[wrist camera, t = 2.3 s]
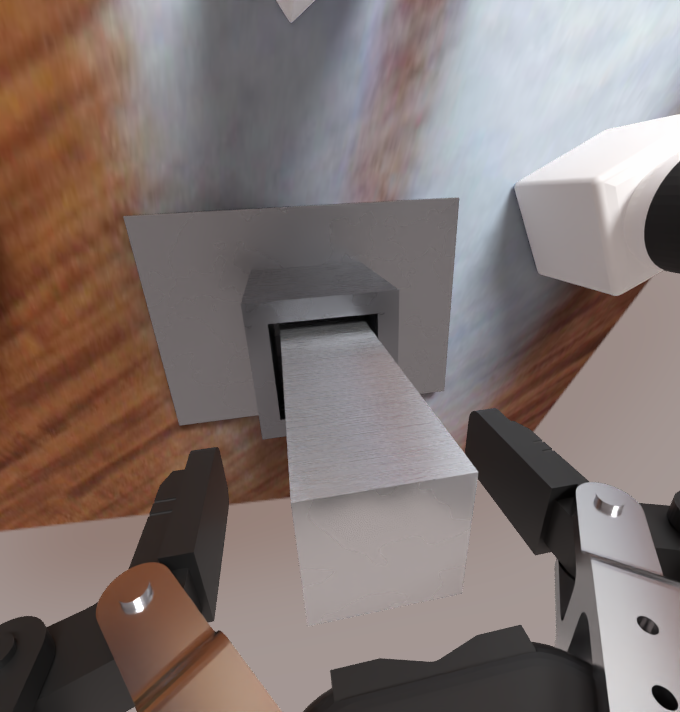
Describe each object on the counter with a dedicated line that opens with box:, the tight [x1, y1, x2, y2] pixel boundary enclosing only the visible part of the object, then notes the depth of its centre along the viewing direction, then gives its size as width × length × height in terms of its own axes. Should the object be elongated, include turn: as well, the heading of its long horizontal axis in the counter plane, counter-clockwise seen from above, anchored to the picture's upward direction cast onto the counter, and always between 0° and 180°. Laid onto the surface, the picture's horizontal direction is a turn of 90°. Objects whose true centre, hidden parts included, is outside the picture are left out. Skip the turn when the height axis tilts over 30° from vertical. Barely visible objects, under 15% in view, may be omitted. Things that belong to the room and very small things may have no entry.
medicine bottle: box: [514, 114, 680, 296], centre depth 20 cm, size 7×7×12 cm
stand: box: [123, 198, 459, 439], centre depth 21 cm, size 20×14×10 cm
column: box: [280, 315, 478, 626], centre depth 16 cm, size 4×4×18 cm
